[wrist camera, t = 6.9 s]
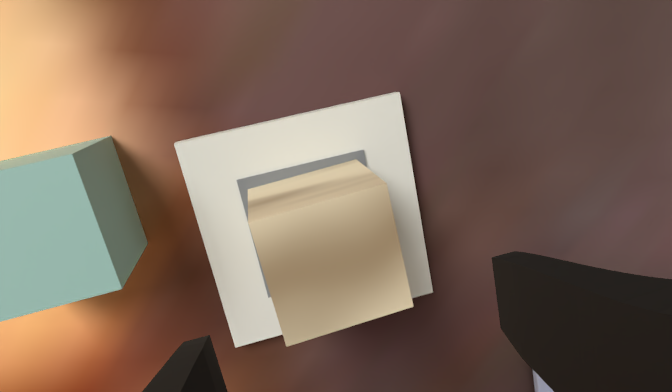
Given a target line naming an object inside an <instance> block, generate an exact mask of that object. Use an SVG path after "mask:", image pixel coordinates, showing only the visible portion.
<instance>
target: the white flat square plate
mask: <svg viewBox="0 0 672 392" xmlns="http://www.w3.org/2000/svg"><path fill="white" fill-rule="evenodd" d="M174 146H175V149H176V152H177V156H178V159H179V162H180V165H181V169H182V172H183V175H184V179H185V182H186V185H187V189H188V192H189V195H190V199H191V202H192V205H193V209H194V212H195V215H196V219H197V222H198V225H199V228H200V232H201V235H202V238H203V242H204V245H205V248H206V252H207V255H208V258H209V262H210V265H211V268H212V272H213V275H214V278H215V282H216V285H217V288H218V291H219V295H220V298H221V301H222V305H223V308H224V311H225V315H226V318H227V321H228V325H229V328H230V331H231V335H232V338H233V341H234V345H235V348H236V347H240V346H243V345H247V344H250V343H254V342H257V341H261V340H265V339H268V338H272V337H275V336H279V335H282V331H281V327H280V324H279V321H278V318H277V314H276V311H275V308H274V305H273V302H272V298H271V295H270V292H269V289H268V285H267V282H266V279H265V276H264V273H263V269H262V266H261V263H260V260H259V256H258V253H257V250H256V247H255V243H254V240H253V237H252V234H251V231H250V227H249V224H248V189H251V188H254V187H258V186H262V185H265V184H269V183H272V182H276V181H280V180H283V179H287V178H290V177H294V176H298V175H301V174H305V173H308V172H312V171H316V170H319V169H323V168H326V167H330V166H334V165H337V164H341V163H344V162H348V161H352V160H355V159H357V160H358V161H359V162H360V163H362V164H363V165H364V166H365V167H367V168H368V169H369V170H370V171H372V172H373V173H374V174H376V175H377V176H378V177H379V178H381V179H382V180H383V181H384V182H386V183H387V187H388V192H389V197H390V201H391V206H392V210H393V215H394V219H395V224H396V228H397V233H398V238H399V242H400V247H401V251H402V256H403V260H404V265H405V269H406V274H407V279H408V283H409V288H410V292H411V297H412V298H415V297H418V296H422V295H425V294H429V293H432V292H433V289H432V283H431V277H430V271H429V265H428V259H427V253H426V247H425V241H424V235H423V229H422V223H421V217H420V211H419V205H418V199H417V193H416V187H415V181H414V175H413V169H412V163H411V157H410V151H409V145H408V139H407V133H406V127H405V121H404V115H403V109H402V103H401V97H400V93H399V92H393V93H389V94H384V95H380V96H376V97H371V98H367V99H362V100H358V101H354V102H349V103H345V104H340V105H336V106H332V107H327V108H323V109H318V110H314V111H310V112H305V113H301V114H296V115H292V116H288V117H283V118H279V119H275V120H270V121H266V122H261V123H257V124H253V125H248V126H244V127H239V128H235V129H231V130H226V131H222V132H217V133H213V134H209V135H204V136H200V137H195V138H191V139H187V140H182V141H178V142H176V143H175V144H174Z"/></svg>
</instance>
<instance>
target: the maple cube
mask: <svg viewBox="0 0 672 392" xmlns="http://www.w3.org/2000/svg"><path fill="white" fill-rule="evenodd" d="M248 224H249V227H250V231H251V234H252V237H253V240H254V243H255V247H256V250H257V253H258V256H259V260H260V263H261V266H262V269H263V273H264V276H265V279H266V282H267V285H268V289H269V292H270V295H271V298H272V302H273V305H274V308H275V311H276V314H277V318H278V321H279V324H280V327H281V331H282V334H283V337H284V340H285V343H286V347H287V346H290V345H294V344H297V343H300V342H303V341H306V340H310V339H313V338H316V337H319V336H322V335H325V334H329V333H332V332H335V331H338V330H341V329H344V328H348V327H351V326H354V325H357V324H360V323H363V322H367V321H370V320H373V319H376V318H379V317H382V316H386V315H389V314H392V313H395V312H398V311H401V310H405V309H408V308H411V307H414V306H413V301H412V297H411V292H410V288H409V283H408V279H407V274H406V269H405V265H404V260H403V256H402V251H401V247H400V242H399V238H398V233H397V228H396V224H395V219H394V215H393V210H392V206H391V201H390V197H389V192H388V187H387V183H386V182H384V181H383V180H382V179H381V178H379V177H378V176H377V175H376V174H374V173H373V172H372V171H370V170H369V169H368V168H367V167H365V166H364V165H363V164H362V163H360V162H359V161H358V160H357V159H355V160H352V161H348V162H344V163H341V164H337V165H334V166H330V167H326V168H323V169H319V170H316V171H312V172H308V173H305V174H301V175H298V176H294V177H290V178H287V179H283V180H280V181H276V182H272V183H269V184H265V185H262V186H258V187H254V188H251V189H248Z"/></svg>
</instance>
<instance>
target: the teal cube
mask: <svg viewBox="0 0 672 392" xmlns="http://www.w3.org/2000/svg"><path fill="white" fill-rule="evenodd" d="M147 244H148V242H147V239H146V236H145V233H144V230H143V227H142V224H141V221H140V219H139V216H138V213H137V210H136V207H135V204H134V201H133V198H132V195H131V192H130V189H129V187H128V184H127V181H126V178H125V175H124V172H123V169H122V166H121V163H120V160H119V158H118V155H117V152H116V149H115V146H114V143H113V140H112V137H111V136H108V137H103V138H99V139H95V140H90V141H86V142H82V143H77V144H73V145H69V146H64V147H60V148H56V149H51V150H47V151H43V152H38V153H34V154H30V155H25V156H21V157H16V158H12V159H8V160H3V161H0V322H1V321H4V320H8V319H12V318H16V317H19V316H23V315H27V314H31V313H34V312H38V311H42V310H46V309H49V308H53V307H57V306H61V305H64V304H68V303H72V302H76V301H79V300H83V299H87V298H91V297H94V296H98V295H102V294H106V293H109V292H113V291H117V290H121V289H122V288H123V286H124V285H125V283H126V281H127V279H128V278H129V276H130V274H131V272H132V271H133V269H134V267H135V265H136V264H137V262H138V260H139V258H140V257H141V255H142V253H143V251H144V250H145V248H146V246H147Z"/></svg>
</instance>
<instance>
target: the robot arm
mask: <svg viewBox="0 0 672 392" xmlns="http://www.w3.org/2000/svg"><path fill="white" fill-rule="evenodd" d="M492 263H493V271H494V278H495V286H496V294H497V302H498V310H499V318H500V326H501V329H502V330H503V332H504V333H505V335H506V336H507V338H508V339H509V341H510V342H511V343H512V345H513V346H514V348H515V349H516V350H517V352H518V353H519V354H520V356H521V357H522V358H523V359H524V361H525V362H526V363H527V364H528V365H529V366H530V367H531V368H532V369H533V378H534V387H535V392H672V279H663V278H654V277H647V276H640V275H634V274H628V273H622V272H617V271H611V270H606V269H601V268H596V267H591V266H586V265H581V264H577V263H572V262H568V261H563V260H559V259H554V258H550V257H545V256H541V255H536V254H530V253H524V252H510V253H507V254H503V255H499V256H496V257H492ZM142 392H227V389H226V386H225V383H224V379H223V376H222V373H221V370H220V367H219V364H218V360H217V357H216V354H215V351H214V348H213V345H212V341H211V338H210V335H208V336H205V337H201V338H197V339H194V340H190V341H186V342H184V343H183V344H182V345H181V346H180V347H179V348H178V349H177V350H176V351H175V353H174V354H173V355H172V356H171V357H170V359H169V360H168V361H167V362H166V364H165V365H164V366H163V367H162V368H161V370H160V371H159V372H158V373H157V375H156V376H155V377H154V378H153V379H152V381H151V382H150V383H149V384H148V385H147V387H146V388H145V389H144V390H143V391H142Z"/></svg>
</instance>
